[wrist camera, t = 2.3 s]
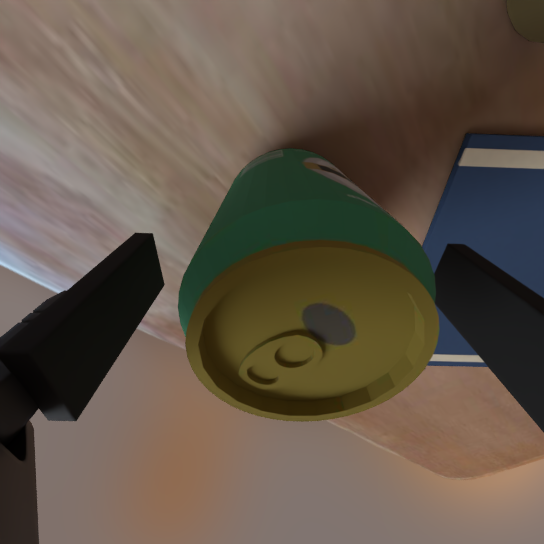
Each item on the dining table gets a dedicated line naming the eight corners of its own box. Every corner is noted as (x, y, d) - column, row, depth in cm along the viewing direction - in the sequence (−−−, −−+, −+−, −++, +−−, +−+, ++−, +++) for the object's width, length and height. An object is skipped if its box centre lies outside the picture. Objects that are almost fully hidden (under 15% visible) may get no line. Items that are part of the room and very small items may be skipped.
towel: (465, 133, 15) (471, 133, 14) (734, 143, 15) (748, 144, 15) (377, 360, 25) (379, 364, 25) (534, 363, 26) (539, 368, 25)
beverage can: (370, 212, 17) (512, 356, 7) (284, 280, 20) (298, 451, 10) (291, 113, 14) (338, 119, 4) (203, 211, 17) (106, 356, 7)
